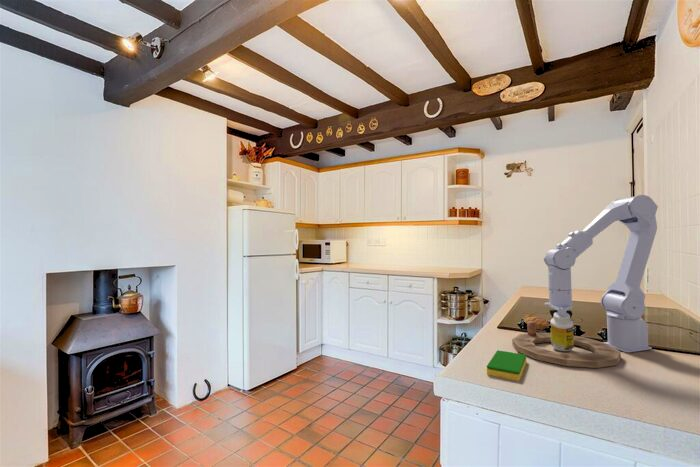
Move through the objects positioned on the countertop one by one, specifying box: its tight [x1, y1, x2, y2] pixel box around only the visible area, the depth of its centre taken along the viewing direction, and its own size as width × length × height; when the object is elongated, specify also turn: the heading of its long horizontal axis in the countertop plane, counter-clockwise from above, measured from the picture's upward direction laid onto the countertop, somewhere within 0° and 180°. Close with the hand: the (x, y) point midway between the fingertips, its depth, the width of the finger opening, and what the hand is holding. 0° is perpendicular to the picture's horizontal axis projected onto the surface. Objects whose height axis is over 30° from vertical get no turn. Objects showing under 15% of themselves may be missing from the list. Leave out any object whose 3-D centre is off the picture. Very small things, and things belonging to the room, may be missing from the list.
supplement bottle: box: [549, 312, 575, 352], centre depth 95 cm, size 6×6×10 cm
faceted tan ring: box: [511, 321, 622, 369], centre depth 95 cm, size 25×25×6 cm
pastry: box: [522, 314, 551, 331], centre depth 120 cm, size 9×7×4 cm
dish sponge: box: [486, 350, 527, 382], centre depth 84 cm, size 7×14×2 cm, turn 146°
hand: (561, 335), depth 99 cm, fingers closed
